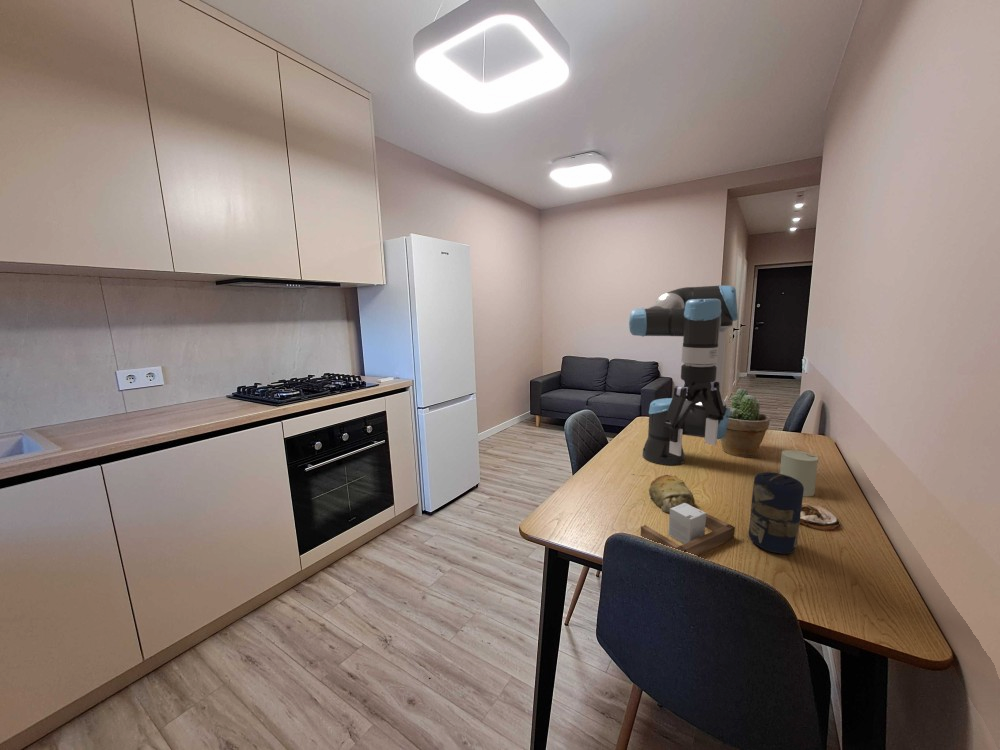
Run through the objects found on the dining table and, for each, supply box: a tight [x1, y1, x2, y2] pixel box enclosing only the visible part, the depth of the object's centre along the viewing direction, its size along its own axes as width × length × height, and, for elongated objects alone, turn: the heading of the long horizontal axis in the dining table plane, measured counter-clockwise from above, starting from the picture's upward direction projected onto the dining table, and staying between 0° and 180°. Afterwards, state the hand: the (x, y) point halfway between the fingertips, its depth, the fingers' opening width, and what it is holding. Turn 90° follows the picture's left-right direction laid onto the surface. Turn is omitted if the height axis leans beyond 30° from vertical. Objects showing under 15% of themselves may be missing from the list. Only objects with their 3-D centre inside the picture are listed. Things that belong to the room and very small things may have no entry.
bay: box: [640, 512, 736, 556], centre depth 94 cm, size 12×20×3 cm, turn 118°
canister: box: [748, 471, 804, 555], centre depth 90 cm, size 10×10×18 cm
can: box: [779, 449, 819, 498], centre depth 118 cm, size 9×9×12 cm
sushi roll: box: [799, 502, 840, 531], centre depth 103 cm, size 15×15×4 cm
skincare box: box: [667, 503, 707, 544], centre depth 94 cm, size 6×6×7 cm
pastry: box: [648, 474, 695, 514], centre depth 112 cm, size 14×12×8 cm
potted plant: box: [719, 388, 772, 458], centre depth 150 cm, size 18×19×25 cm
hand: (693, 448), depth 94 cm, fingers open, 13 cm apart
